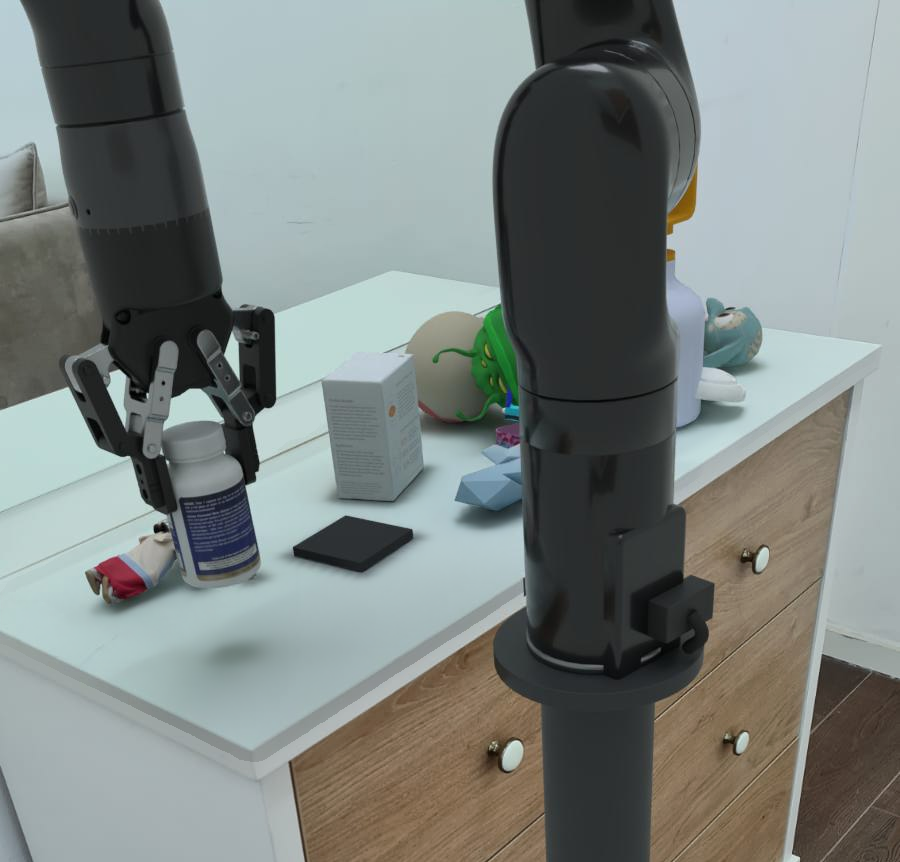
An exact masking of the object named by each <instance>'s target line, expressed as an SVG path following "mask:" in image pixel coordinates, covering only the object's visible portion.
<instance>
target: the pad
mask: <svg viewBox="0 0 900 862" xmlns="http://www.w3.org/2000/svg"><path fill="white" fill-rule="evenodd" d="M413 539H414V529H413V528H409V527H404V526H399V525H395V524H390V523H385V522H381V521H376V520H370V519H365V518H361V517H357V516H356V517H355V516H352V515H346V514H345V515H344V516H342V517H340V518H339V519H336V520H335V521H334V522H332V523H330V524H329V525H326V526H325V527H324V528H322V529H320V530H318V531H317V532H316V533H313V534H311V535H310V536H308V537H307V538H305V539H303V540H302V541H300V542H299V543H297V544H295V545H293V546H292V552H293V556H294V557H296V558H301V559H305V560H309V561H314V562H318V563H322V564H327V565H330V566H335V567H340V568H343V569H348V570H352V571H356V572H360V573H362V572H364V571H366V570H367V569H369V568H370V567H372V566H373V565H375V564H376V563H378V562H379V561H381V560H382V559H384V558H386V557H387V556H389V555H390V554H392V553H393V552H395V551H396V550H398V549H400V548H401V547H402V546H403V545H405V544H407V543H408V542H410V541H411V540H413Z"/></svg>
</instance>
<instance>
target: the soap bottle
mask: <svg viewBox="0 0 900 862" xmlns="http://www.w3.org/2000/svg"><path fill="white" fill-rule="evenodd" d="M698 162H699V159H698V160H697V164H696V168H695V172H694V175H693V177H692V180H691V182H690V184H689V186H688V188H687V190H686V192H685V194H684V195H683V197H682V198H681V200H680V201H679V202H678V204H677V205H676V206H675V207H674V208H673V209H672V210H671V211H670V212H669V213H668V214H667V236H669V235H672V234H674V225H677V224H680V223H684V222H686V221H689V220H690V219H692V218H693V215H694V213H695V211H696V207H697V189H698V169H699V167H698V166H699V163H698ZM666 295H667V305H668V311H669V315H670V316H671V317H672V318H673V319H674V320H675V322H676V323H677V325H678V328H679V332H680V357H679V379H678V404H677V425H676V429H677V428H680V427H681V428H682V427H684V426H686V425H688V424H690V423H692V422H694V421H695V420H696V419H697V418H698V416H699V415H700V413H701V404H702V399H696V398H695V396H696V392H697V389H698V384H699V381H700V379H701V375H702V368H703V349H704V329H705V318H706V310H705V309H706V308H705V307H704V306H705V305H704V303H703V300H702V297H701V296H700V295H699V294H698V293H697V292H696V291H695V290H693V289H692V288H691V287H689V286H688V285H686V284H685V283H682V282H681V281H680V280H679V279H678V278H677V277H676V250H674V249H671V248H667V267H666Z"/></svg>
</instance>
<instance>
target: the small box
mask: <svg viewBox="0 0 900 862" xmlns="http://www.w3.org/2000/svg"><path fill="white" fill-rule="evenodd" d="M321 388H322V395H323V402H324V409H325V416H326V421H327V431H328V436H329V442H330V451H331V452H330V453H331V458H332V466H333V471H334V479H335V486H336V492H337V494H336V495H337V497H338V498H339V499H348V500H349V499H350V500H351V499H352V500H369V501H379V502H380V501H381V502H394V501H395V500H396V499H397V498H398V497H399V496H400V495H401V494H402V493H403V491H404V490H406V488H407V487H408V486H409V485H410V484H411V483H412V482H413V480H414V479H416V477H417V476H418V475H419V474H420V473H421V472H422V470H424V467H425V466H424V453H423V442H422V431H421V430H422V429H421V419H420V408H419V406H418V395H417V385H416V374H415V363H414V355H413V354H405V353H392V352H390V353H389V352H388V353H387V352H363V351H360V352H358V351H357V352H355V353H354V354H353V355H351V357H349V358H348V359H347V360H345V361H344V362H343V363H341V364H340V365H339V366H338V367H336V368H335V369H334V370H333V371H331V372H330V373H329V374H327V376H325V377H324V378H322V379H321Z"/></svg>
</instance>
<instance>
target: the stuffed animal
mask: <svg viewBox="0 0 900 862" xmlns="http://www.w3.org/2000/svg"><path fill="white" fill-rule="evenodd" d="M705 306H706V313H707V317H705V329H704V349H703V367H709V368H716V369H717V368H719V367H722V368H729V367H730V368H731V367H732V368H733V367H738V366H741V365H744V364H748V363H750V362H751V361H752V360H753V359H754V358H755V357H756V356H758V354H759V352H760V349H761V347H762V344H763V327H762V325H761V322H760V320H759V318H758V317H757V316H756V314H755V313H754V312H753V311H752V310H751V308H750V307H747V306H744V307H742V308H738V307H736V306H735V307H734V306H730V307H725V306H724V303H723V302H721V301H720V300H719V299H717V298H716V297H707V298H706V302H705Z"/></svg>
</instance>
